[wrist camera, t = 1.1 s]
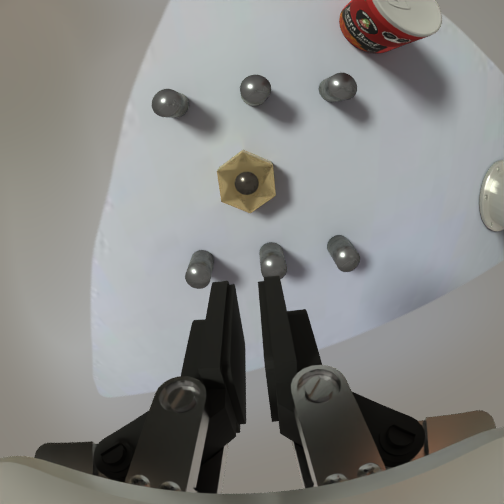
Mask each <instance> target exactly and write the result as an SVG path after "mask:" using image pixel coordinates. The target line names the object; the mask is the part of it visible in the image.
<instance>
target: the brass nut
mask: <svg viewBox="0 0 504 504" xmlns="http://www.w3.org/2000/svg"><path fill="white" fill-rule="evenodd" d="M217 175H218V182H219V189H220V195H221V202H223V203H226V204H228V205H231V206H233V207H236V208H238V209H241V210H243V211H246V212H248V213H252V212H253V211H254V210H256V209H257V208H259V207H260V206H262V205H263V204H264V203H266V202H267V201H269V200H270V199H272V198H273V197H274V196H276V193H275V182H274V171H273V164H272V163H271V161H269V160H266V159H264V158H262V157H259V156H257V155H255V154H252V153H250V152H247V151H245V150H242V151H241V152H239V153H238V154H236V155H235V156H234V157H232V158H231V159H230V160H228V161H227V162H226V163H224V164H223V165H222V166H220V167H219V169H218V170H217Z"/></svg>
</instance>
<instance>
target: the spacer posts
mask: <svg viewBox="0 0 504 504" xmlns="http://www.w3.org/2000/svg"><path fill="white" fill-rule="evenodd" d="M240 92H241V97H242V99H243V101H244V102H245V103H246V104H248V105H251V106H258V105H260V104H262V103H263V102H264V101H265V100H266V99H267V98H268V97H269V95H270V93H271V85H270V83H269V81H268V80H267V79H266V78H265V77H263V76H260V75H251V76H248V77H246V78H245V79H244V80H243V81H242V83H241V86H240ZM356 92H357V84H356V82H355V80H354V79H353V78H352V77H351V76H350V75H348V74H346V73H337V74H335V75H333V76H331V77H329V78H327V79H325V80H323V81H322V82H321V83H320V85H319V93H320V95H321V97H322V98H323V99H324V100H326V101H328V102H337V101H342V100H347V99H351V98H352V97H354V95H355V94H356ZM188 107H189V102H188V99H187V98H186V96H184V95H183V94H181V93H178V92H176V91H174V90H171V89H164V90H161V91H159V92H158V93H157V94H156V95H155V96H154V98H153V100H152V108H153V111H154V112H155V113H156V114H157V115H159V116H161V117H173V118H177V117H180V116H182V115H184V114H185V113H186V111H187V110H188ZM327 249H328V252H329V253H330V255H331V257H332V258H333V260H334V262H335V263H336V265H337V267H338V268H339V269H340V270H341V271H343V272H350V271H352V270H354V269H355V268H356V267H357V266H358V264H359V262H360V256H359V254H358V253H357V251H356V250H355V249H354V247H353V246H352V245H351V244H350V242H349V241H348V240H347V239H346V237H344V236H342V235H336V236H334V237H332V238H331V239H330V240H329V242H328V244H327ZM259 255H260V264H261V273H262V275H263V277H269V276H278V275H279V276H280V279H282V278H283V277H284V276H285V275H286V272H287V266H286V262H285V258H284V255H283V251H282V248H281V247H280V246H279V245H278V244H277V243H273V242H270V243H266V244H264V245H263V246H262V247H261V249H260V252H259ZM213 264H214V259H213V256H212V255H211V254H210V253H209V252H208V251H205V250H199V251H196V252H195V253H194V254H193V255H192V258H191V260H190V263H189V266H188V269H187V272H186V275H185V279H186V281H187V283H188V284H189V285H190V286H191V287H193V288H197V289H201V288H204V287H206V286H207V285H208V284H209V282H210V279H211V274H212V269H213Z"/></svg>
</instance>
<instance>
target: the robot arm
mask: <svg viewBox="0 0 504 504" xmlns="http://www.w3.org/2000/svg"><path fill="white" fill-rule="evenodd" d="M479 205H480V214H481V218H482V220H483V222H484V224H485V225H486V226H487V227H488V228H489V229H491V230H493V231H501V230H503V229H504V160H500V161H497V162H496V163H494V164H493V165H492V166H491V167H490V169H489V170H488V171H487V173H486V175H485V177H484V180H483V183H482V187H481V191H480V203H479ZM258 287H259V300H260V312H261V325H262V337H263V350H264V362H265V370H266V378H267V387H268V395H269V402H270V410H271V418H272V422H274V421H279V427H280V433H281V434H282V435H284V436H285V437H287V438H289V439H290V440H292V445H293V449H294V453H295V457H296V461H297V465H298V469H299V473H300V477H301V481H302V486H303V489H299V490H290V491H281V492H269V493H253V494H222V488H223V481H224V474H225V466H226V459H227V453H228V443H229V442H230V441H231V440H232V439H234V438H235V437H236V433H240V424H246V379H245V378H246V376H245V341H244V335H243V329H242V324H241V318H240V312H239V306H238V301H237V295H236V289H235V285H234V284H232V285H229V282H228V281H221V282H213V283H212V286H211V292H210V297H209V303H208V309H207V314H206V319H205V320H194V321H193V323H192V326H191V331H190V335H189V340H188V344H187V349H186V354H185V358H184V363H183V368H182V373H181V376H179V377H175V378H171V379H169V380H167V381H166V382H164V383H163V384H162V385H161V386H160V387H159V388H158V390H157V391H156V393H155V396H154V398H153V401H152V404H151V407H150V409H149V411H148V412H146V413H145V414H143V415H142V416H140V417H138V418H137V419H136V420H134V421H132V422H130V423H129V424H127V425H126V426H124V427H122V428H121V429H119V430H118V431H116V432H114V433H113V434H111V435H109V436H108V437H106V438H104V439H103V440H102V441H101V442H99V444H95V443H94V442H92V441H91V442H70V443H45V444H43V445H41V446H40V447H39V448H38V449H37V451H36V453H35V457H34V458H33V457H26V456H12V457H11V456H10V457H3V458H0V504H504V427H500V428H496V426H495V422H494V420H493V418H492V416H491V415H490V414H489V413H487V412H485V411H482V410H481V411H480V410H476V411H470V412H465V413H458V414H451V415H443V416H435V417H426V418H425V420H422V421H417V420H416V419H414V418H412V417H410V416H408V415H405V414H403V413H400V412H398V411H395V410H393V409H391V408H388V407H386V406H383V405H381V404H379V403H376V402H374V401H372V400H369V399H367V398H365V397H363V396H360V395H358V394H356V393H354V392H352V391H351V389H350V387H349V384H348V383H347V380H346V378H345V377H344V375H343V374H342V373H341V372H340V371H338V370H337V369H336V368H333V367H330V366H326V365H322V363H321V359H320V356H319V352H318V348H317V345H316V341H315V338H314V334H313V331H312V328H311V324H310V321H309V317H308V314H307V311H306V309H303V310H295V311H287V310H286V305H285V300H284V295H283V291H282V286H281V281H280V276H279V275H278V276H269V277H264V281H261V282H258Z"/></svg>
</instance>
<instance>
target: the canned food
mask: <svg viewBox="0 0 504 504" xmlns="http://www.w3.org/2000/svg"><path fill="white" fill-rule="evenodd" d="M339 22H340V28H341V31H342V33H343V35H344V36H345V37H346V39H347V40H348V41H349V42H350V43H351V44H353V45H354V46H355V47H357V48H359V49H361V50H363V51H366V52H372V53H383V52H387V51H389V50H392V49H395V48H397V47H400V46H403V45H405V44H408V43H411V42H414V41H417V40H420V39H423V38H425V37H428V36H430V35H433V34H434V33H436V32H437V31H438V30H439V28H440V27H441V23H442V15H441V11H440V8H439V6H438V3H437V2H436V0H351V1H350V2H349V3H348V4H347V5H346V7H345V8H344V9H343V10H342V12H341V14H340V21H339Z"/></svg>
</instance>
